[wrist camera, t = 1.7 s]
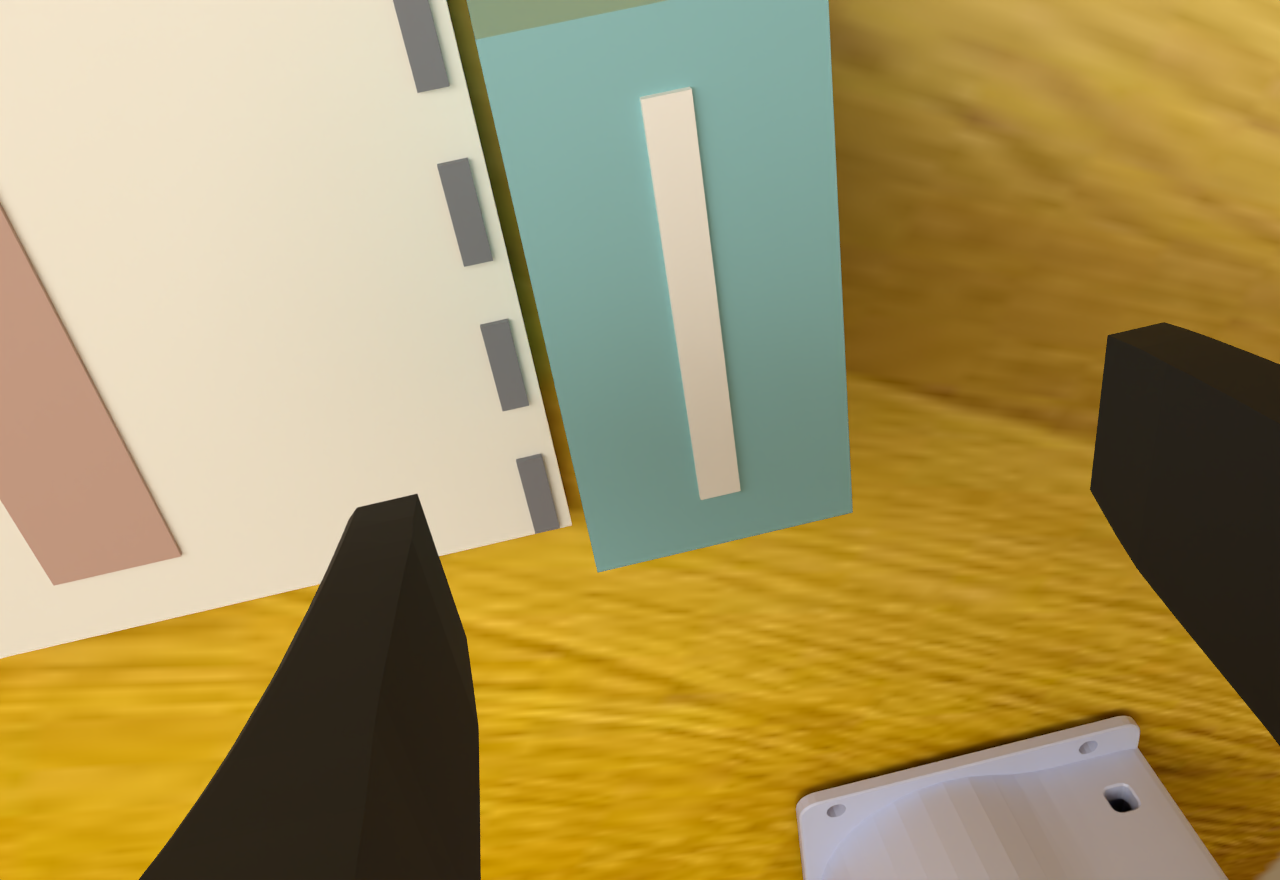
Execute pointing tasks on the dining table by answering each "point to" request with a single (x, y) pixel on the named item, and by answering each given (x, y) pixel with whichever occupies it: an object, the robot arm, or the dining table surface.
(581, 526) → the dining table surface
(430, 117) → the white card
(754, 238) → the teal rectangular block
